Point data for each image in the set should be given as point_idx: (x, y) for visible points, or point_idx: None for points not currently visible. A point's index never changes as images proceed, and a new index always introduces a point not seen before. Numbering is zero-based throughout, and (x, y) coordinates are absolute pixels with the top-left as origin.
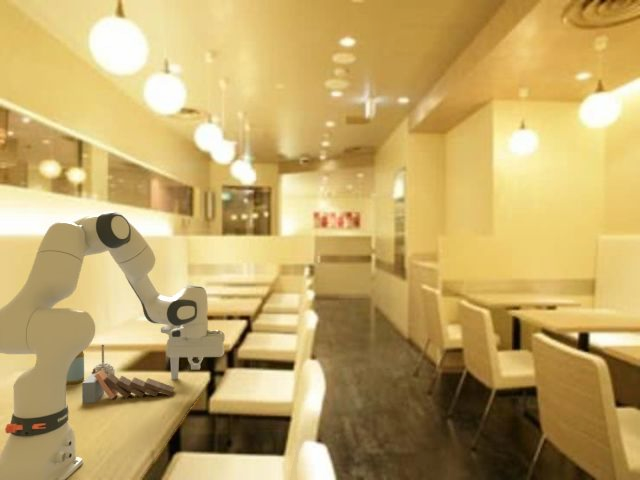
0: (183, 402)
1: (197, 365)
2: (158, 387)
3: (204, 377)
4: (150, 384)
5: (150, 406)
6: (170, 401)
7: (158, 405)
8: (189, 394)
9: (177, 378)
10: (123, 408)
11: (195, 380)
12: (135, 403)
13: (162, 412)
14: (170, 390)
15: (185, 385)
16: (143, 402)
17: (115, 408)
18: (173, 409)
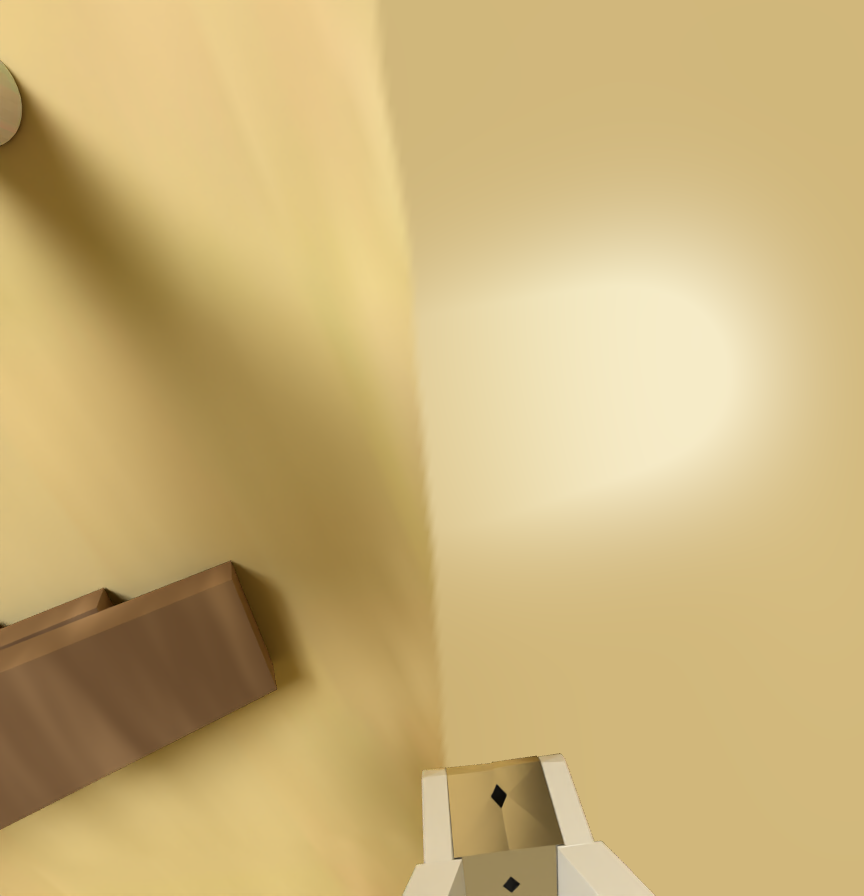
0: (431, 757)
1: (556, 893)
2: (128, 761)
3: (375, 9)
4: (25, 814)
5: (230, 833)
6: (325, 750)
7: (276, 815)
8: (414, 612)
9: (19, 109)
10: (66, 875)
11: (303, 169)
12: (83, 804)
13: (362, 893)
14: (247, 686)
15: (265, 375)
16: (130, 784)
17: (10, 880)
18: (411, 854)
